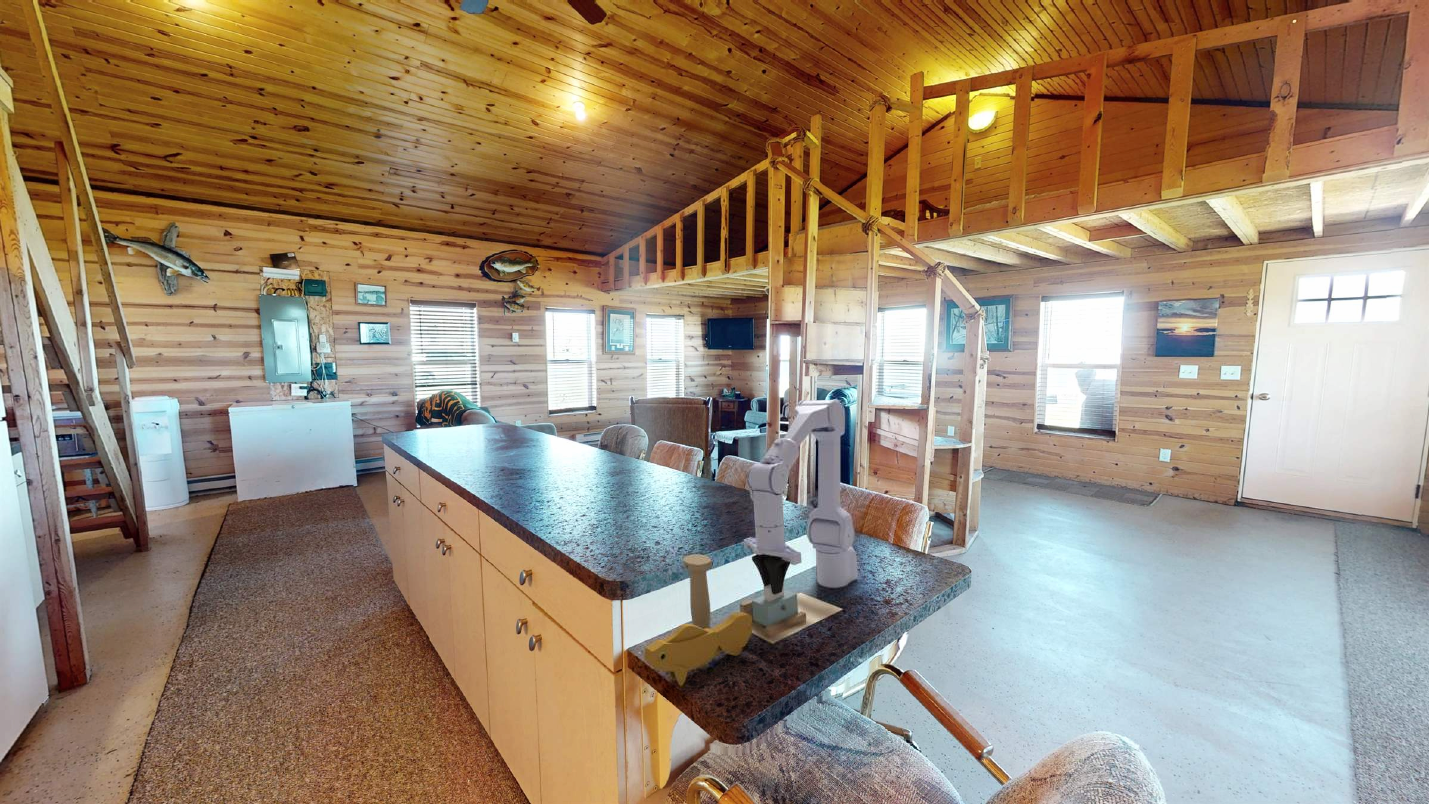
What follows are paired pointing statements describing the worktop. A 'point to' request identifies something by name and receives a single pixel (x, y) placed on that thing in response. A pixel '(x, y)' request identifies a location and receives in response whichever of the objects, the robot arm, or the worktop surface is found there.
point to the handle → (699, 589)
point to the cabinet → (774, 606)
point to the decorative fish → (698, 645)
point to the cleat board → (791, 618)
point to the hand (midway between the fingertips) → (773, 591)
